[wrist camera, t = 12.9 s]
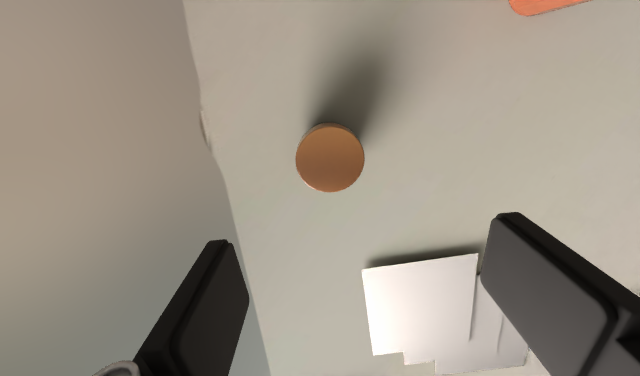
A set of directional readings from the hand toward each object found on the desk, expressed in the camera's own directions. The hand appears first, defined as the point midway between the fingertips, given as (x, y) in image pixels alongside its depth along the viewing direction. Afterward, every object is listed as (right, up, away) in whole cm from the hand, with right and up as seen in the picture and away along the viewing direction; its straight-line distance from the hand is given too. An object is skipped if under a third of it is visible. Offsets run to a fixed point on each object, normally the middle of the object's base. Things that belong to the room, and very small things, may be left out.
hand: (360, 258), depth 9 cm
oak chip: (-1, +6, +14) cm, 15 cm away
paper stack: (+17, -16, +27) cm, 36 cm away
